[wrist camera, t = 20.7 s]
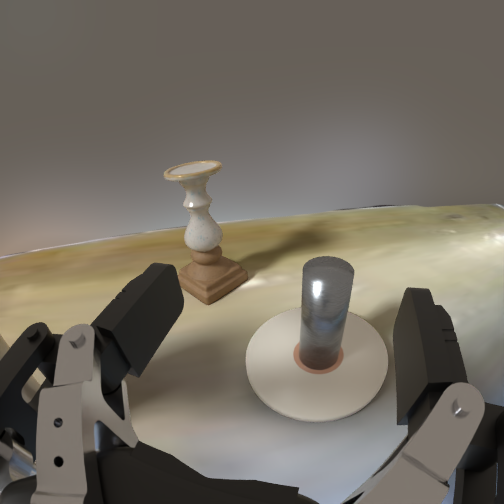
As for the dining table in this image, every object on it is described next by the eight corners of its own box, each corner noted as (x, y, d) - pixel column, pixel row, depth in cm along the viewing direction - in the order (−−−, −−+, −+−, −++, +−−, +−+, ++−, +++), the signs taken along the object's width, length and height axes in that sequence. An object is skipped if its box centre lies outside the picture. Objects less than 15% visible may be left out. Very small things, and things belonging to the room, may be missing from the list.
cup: (303, 373, 33) (309, 289, 26) (295, 342, 38) (297, 259, 31) (343, 365, 34) (362, 281, 27) (332, 336, 38) (343, 254, 31)
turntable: (251, 433, 28) (250, 428, 27) (243, 320, 45) (242, 313, 44) (405, 400, 28) (409, 394, 28) (359, 304, 46) (360, 298, 45)
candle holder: (208, 306, 51) (182, 179, 39) (176, 283, 58) (150, 173, 46) (249, 278, 58) (237, 162, 46) (215, 261, 65) (199, 158, 52)
